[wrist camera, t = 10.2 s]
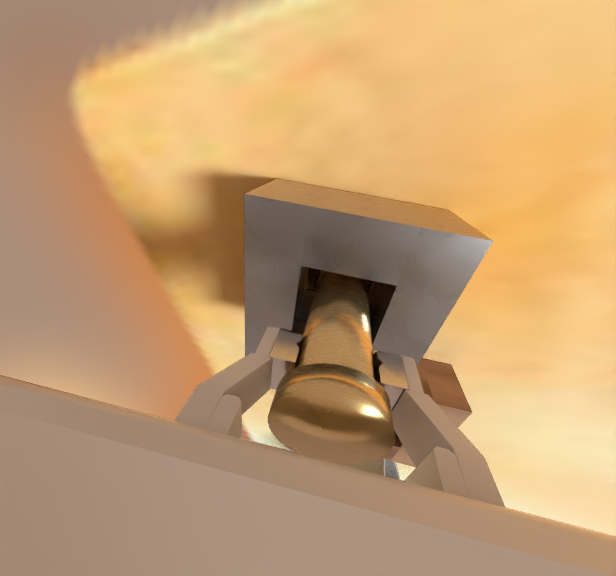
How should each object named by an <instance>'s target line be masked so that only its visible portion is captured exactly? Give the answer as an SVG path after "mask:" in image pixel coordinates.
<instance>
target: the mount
mask: <svg viewBox="0 0 616 576" xmlns="http://www.w3.org/2000/svg"><path fill="white" fill-rule="evenodd" d="M417 370H418V374H419V377H420V381H421V384H422V388H423V391H424V394H427V395H429V396H430V397H431V398H432V400H433V401H434V402H435V403H436V404H437V405H438V406H439V407H440V408H441V410H442V411H443V412H444V413H445V414H446V415H447V416H448V417H449V418H450V420H451V421H452V422H453V423H454V424H455V425H456V426H457V427H459V426H460V425H461V424H462V423H463V422H464V421H465V419H466V418H467V417H468V416H469V415H470V414H471V413H472V411H471V408H470V406H469V404H468V402H467V399H466V397H465V395H464V392H463V390H462V388H461V386H460V383H459V381H458V379H457V377H456V374H455V372H454V370H453V367H452V365H449V364H444V363H440V362H436V361H431V360H427V359H421V361H420V363H419V364H418V366H417ZM394 433H395V442H394V445H393V447H392V449H391V450H390V451H389V452H388V453H387V454H386V455H385V456H383V457H381V458H382V459H386V460H390V461H394V462H398V463H402V464H406V465H409V466H413V467H415V465H414V464H413V462H412V460H411V458H410V457H409V455H408V453H407V451H406V449H405V448H404V446H403V444H402V442H401V441H400V439H399V437H398V435H397V434H396V432H395V430H394Z"/></svg>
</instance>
